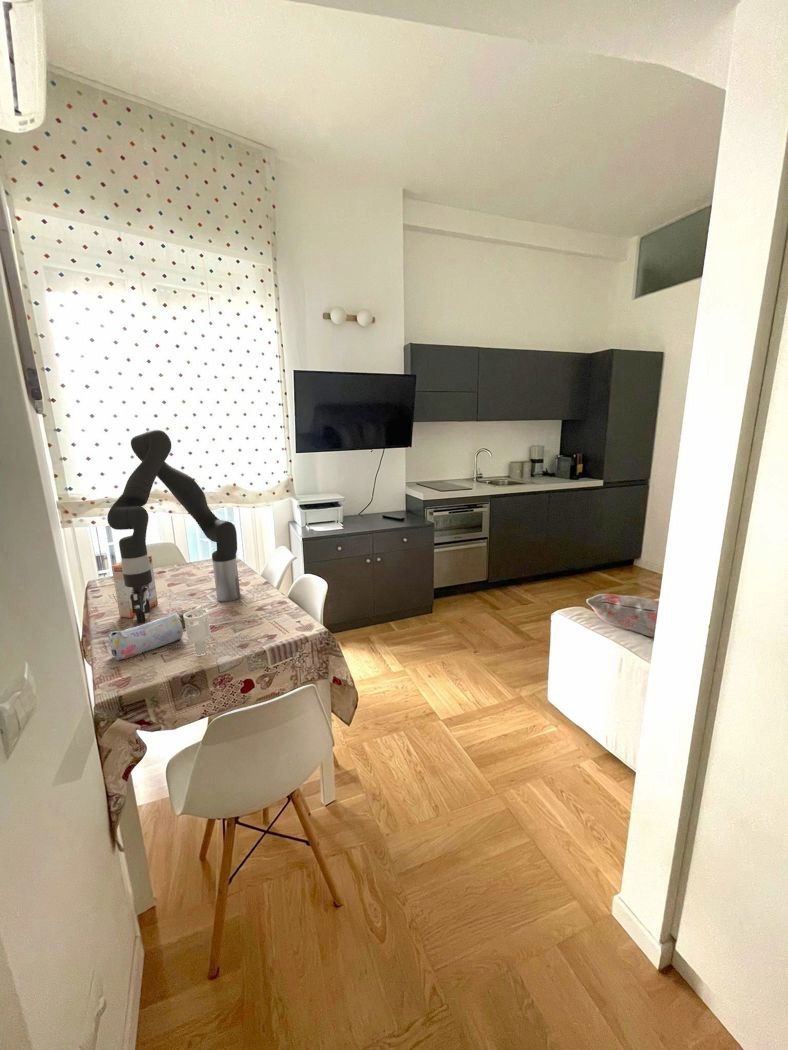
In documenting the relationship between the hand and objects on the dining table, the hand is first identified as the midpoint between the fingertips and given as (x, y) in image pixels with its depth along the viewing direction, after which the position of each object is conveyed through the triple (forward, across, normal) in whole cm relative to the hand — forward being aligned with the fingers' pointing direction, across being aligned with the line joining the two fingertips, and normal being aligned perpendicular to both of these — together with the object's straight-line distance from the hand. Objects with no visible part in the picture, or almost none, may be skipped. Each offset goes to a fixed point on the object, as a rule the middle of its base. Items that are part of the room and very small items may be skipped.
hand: (144, 617), depth 137 cm
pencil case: (+11, 0, 0) cm, 11 cm away
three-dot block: (+11, +18, +5) cm, 22 cm away
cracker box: (+11, +36, +9) cm, 39 cm away
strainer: (+11, -10, -16) cm, 22 cm away
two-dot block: (+11, +16, -9) cm, 21 cm away
